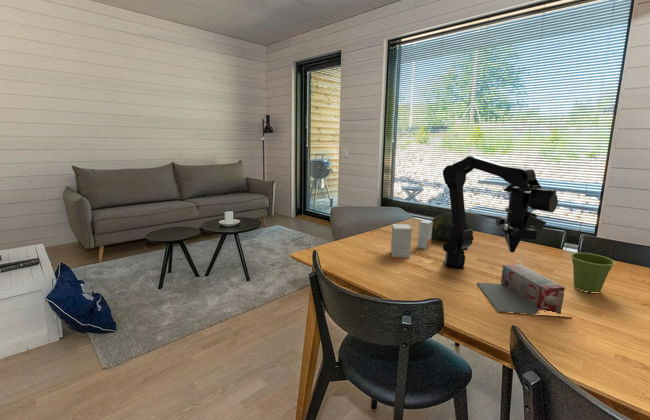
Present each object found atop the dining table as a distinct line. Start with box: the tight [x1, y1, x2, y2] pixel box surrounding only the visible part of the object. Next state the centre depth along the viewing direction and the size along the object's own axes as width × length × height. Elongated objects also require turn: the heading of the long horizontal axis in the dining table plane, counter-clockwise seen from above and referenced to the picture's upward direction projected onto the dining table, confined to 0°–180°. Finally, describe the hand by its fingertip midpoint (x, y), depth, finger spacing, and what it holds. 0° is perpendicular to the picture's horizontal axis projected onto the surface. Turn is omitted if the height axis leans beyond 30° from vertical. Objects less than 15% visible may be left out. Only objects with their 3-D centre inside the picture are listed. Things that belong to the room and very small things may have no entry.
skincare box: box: [416, 219, 433, 250], centre depth 157 cm, size 6×4×12 cm
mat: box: [476, 282, 545, 314], centre depth 109 cm, size 20×20×1 cm
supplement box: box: [390, 223, 413, 259], centre depth 146 cm, size 7×7×13 cm
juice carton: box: [500, 263, 566, 314], centre depth 109 cm, size 7×7×22 cm
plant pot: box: [570, 252, 616, 293], centre depth 116 cm, size 12×12×11 cm
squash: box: [431, 211, 452, 241], centre depth 170 cm, size 14×15×15 cm
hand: (511, 252), depth 117 cm, fingers closed
